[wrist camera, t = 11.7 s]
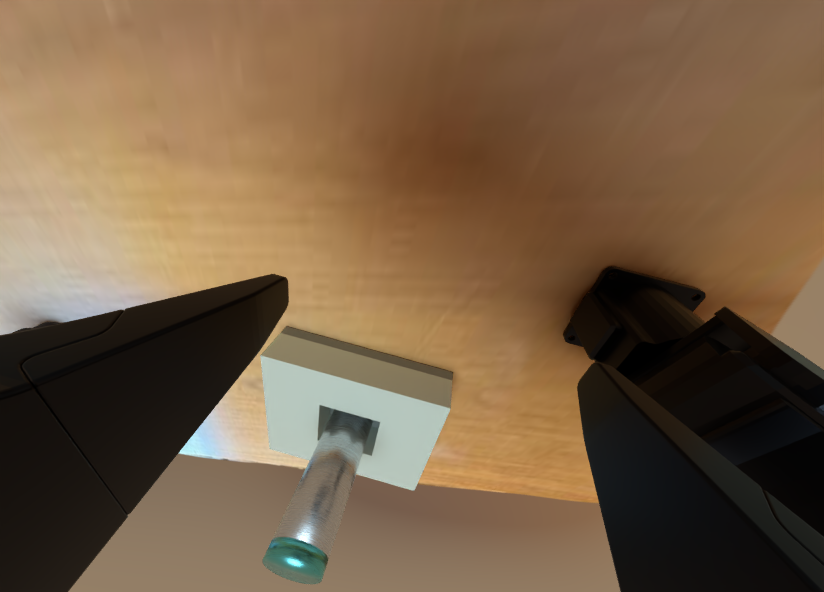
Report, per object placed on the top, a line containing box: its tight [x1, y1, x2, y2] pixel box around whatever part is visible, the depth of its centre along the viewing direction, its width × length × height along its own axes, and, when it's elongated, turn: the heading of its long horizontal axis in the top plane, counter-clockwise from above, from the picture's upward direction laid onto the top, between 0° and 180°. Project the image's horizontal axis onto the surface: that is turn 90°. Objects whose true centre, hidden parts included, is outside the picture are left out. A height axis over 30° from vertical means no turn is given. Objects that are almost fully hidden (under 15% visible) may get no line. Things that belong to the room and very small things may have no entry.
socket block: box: [261, 326, 453, 491], centre depth 29 cm, size 16×14×4 cm
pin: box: [263, 409, 373, 584], centre depth 24 cm, size 4×4×13 cm
